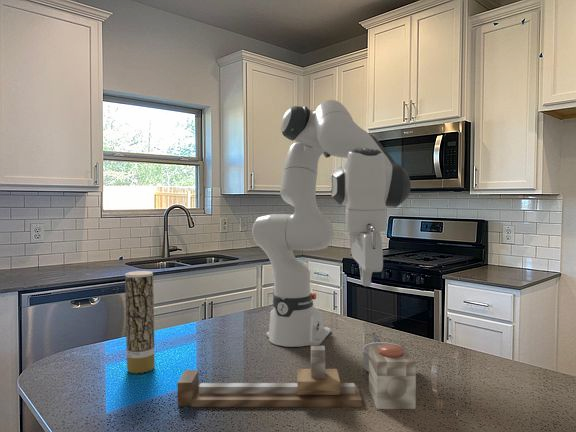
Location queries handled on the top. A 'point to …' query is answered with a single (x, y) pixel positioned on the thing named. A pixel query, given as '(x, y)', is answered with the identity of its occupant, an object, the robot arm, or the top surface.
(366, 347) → the saucepan
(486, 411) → the top surface
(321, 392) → the carriage
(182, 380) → the rail track
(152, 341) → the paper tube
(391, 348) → the button
